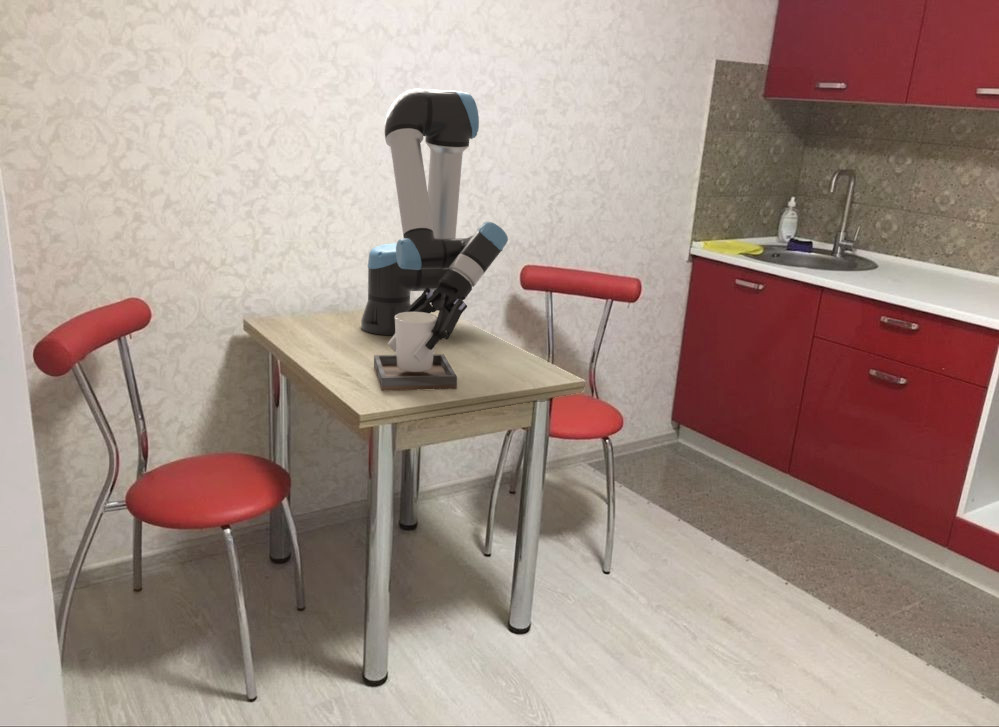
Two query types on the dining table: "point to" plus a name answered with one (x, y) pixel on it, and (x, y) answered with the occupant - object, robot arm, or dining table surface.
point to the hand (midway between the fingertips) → (403, 352)
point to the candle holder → (413, 340)
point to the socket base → (414, 375)
